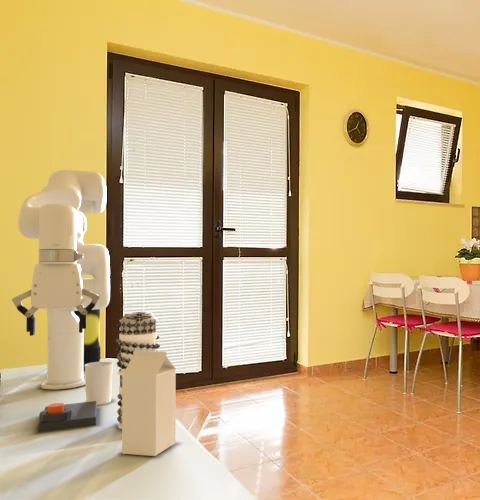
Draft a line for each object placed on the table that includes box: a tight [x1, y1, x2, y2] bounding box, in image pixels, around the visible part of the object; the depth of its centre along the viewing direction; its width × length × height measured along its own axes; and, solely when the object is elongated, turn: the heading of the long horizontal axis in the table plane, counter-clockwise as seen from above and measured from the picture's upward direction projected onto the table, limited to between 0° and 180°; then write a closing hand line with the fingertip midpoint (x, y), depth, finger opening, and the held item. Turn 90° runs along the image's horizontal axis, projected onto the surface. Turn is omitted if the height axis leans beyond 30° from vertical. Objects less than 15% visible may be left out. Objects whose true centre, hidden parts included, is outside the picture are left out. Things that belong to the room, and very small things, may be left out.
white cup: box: [84, 360, 114, 406], centre depth 134 cm, size 7×7×10 cm
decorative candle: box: [115, 311, 161, 430], centre depth 116 cm, size 9×9×25 cm
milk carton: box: [121, 350, 177, 457], centre depth 100 cm, size 7×7×19 cm
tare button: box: [47, 402, 65, 414], centre depth 114 cm, size 3×3×2 cm
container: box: [74, 309, 102, 372], centre depth 178 cm, size 11×11×30 cm
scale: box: [38, 401, 97, 433], centre depth 119 cm, size 15×11×4 cm
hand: (57, 333), depth 116 cm, fingers open, 9 cm apart
